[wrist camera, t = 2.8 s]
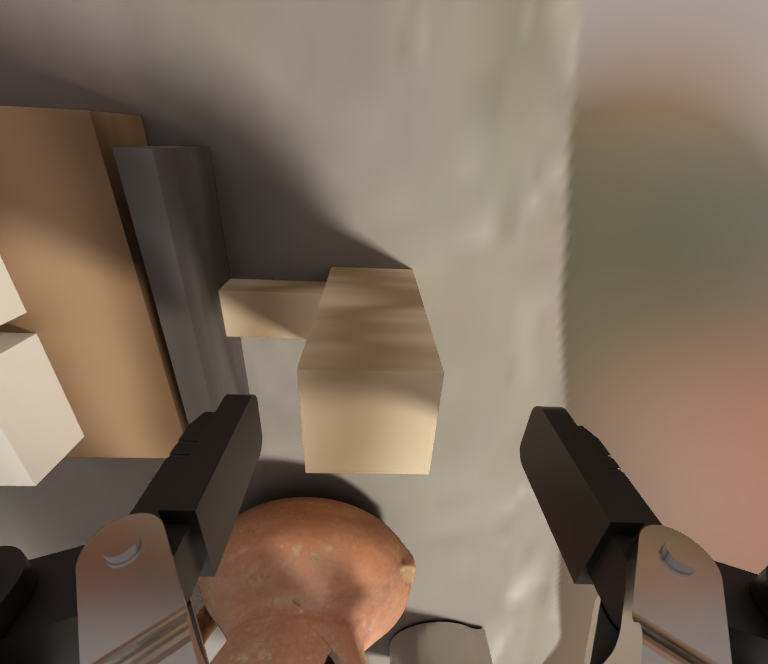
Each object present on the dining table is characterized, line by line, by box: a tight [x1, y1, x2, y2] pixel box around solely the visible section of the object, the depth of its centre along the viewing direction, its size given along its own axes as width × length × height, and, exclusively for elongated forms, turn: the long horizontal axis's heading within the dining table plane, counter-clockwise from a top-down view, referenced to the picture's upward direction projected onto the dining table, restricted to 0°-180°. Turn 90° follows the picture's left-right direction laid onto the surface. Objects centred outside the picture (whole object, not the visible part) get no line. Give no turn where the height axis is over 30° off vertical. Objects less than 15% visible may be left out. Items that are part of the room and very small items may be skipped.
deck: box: [0, 106, 189, 458], centre depth 17 cm, size 12×16×3 cm
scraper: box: [112, 146, 444, 474], centre depth 14 cm, size 10×14×9 cm
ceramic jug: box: [196, 497, 416, 664], centre depth 22 cm, size 18×14×14 cm
